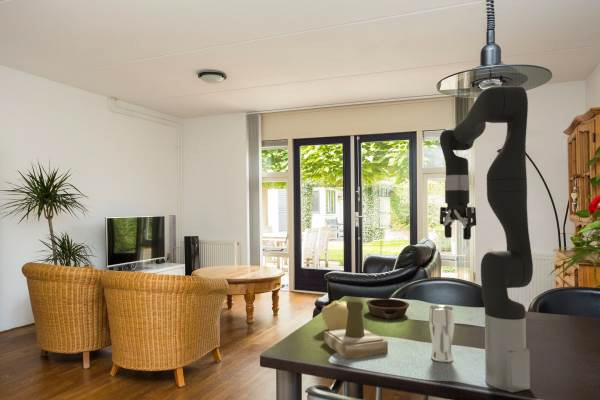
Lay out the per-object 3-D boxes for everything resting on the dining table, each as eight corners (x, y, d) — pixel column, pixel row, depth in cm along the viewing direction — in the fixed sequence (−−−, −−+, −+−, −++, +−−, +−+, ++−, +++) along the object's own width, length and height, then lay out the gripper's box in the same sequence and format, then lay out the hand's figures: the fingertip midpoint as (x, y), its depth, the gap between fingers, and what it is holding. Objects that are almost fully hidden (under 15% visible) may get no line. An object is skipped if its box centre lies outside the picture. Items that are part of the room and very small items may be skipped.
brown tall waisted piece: (363, 338, 130) (363, 302, 130) (344, 337, 131) (344, 301, 131) (365, 332, 136) (364, 298, 136) (346, 331, 137) (346, 297, 137)
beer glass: (434, 353, 128) (434, 303, 128) (457, 358, 124) (457, 307, 124) (425, 359, 123) (425, 307, 123) (449, 365, 118) (449, 311, 119)
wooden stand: (387, 353, 128) (387, 339, 128) (346, 359, 123) (346, 345, 123) (361, 338, 143) (361, 326, 143) (324, 342, 138) (323, 330, 138)
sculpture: (338, 324, 160) (338, 296, 160) (363, 331, 151) (363, 301, 151) (317, 330, 152) (317, 300, 152) (342, 338, 143) (341, 306, 143)
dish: (402, 308, 186) (402, 297, 186) (415, 322, 164) (415, 309, 164) (363, 308, 186) (362, 297, 186) (370, 322, 164) (370, 309, 164)
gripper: (433, 190, 144) (433, 237, 144) (463, 188, 131) (464, 240, 131) (451, 190, 147) (451, 236, 147) (482, 188, 134) (482, 239, 133)
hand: (457, 238), depth 139 cm, fingers open, 8 cm apart
